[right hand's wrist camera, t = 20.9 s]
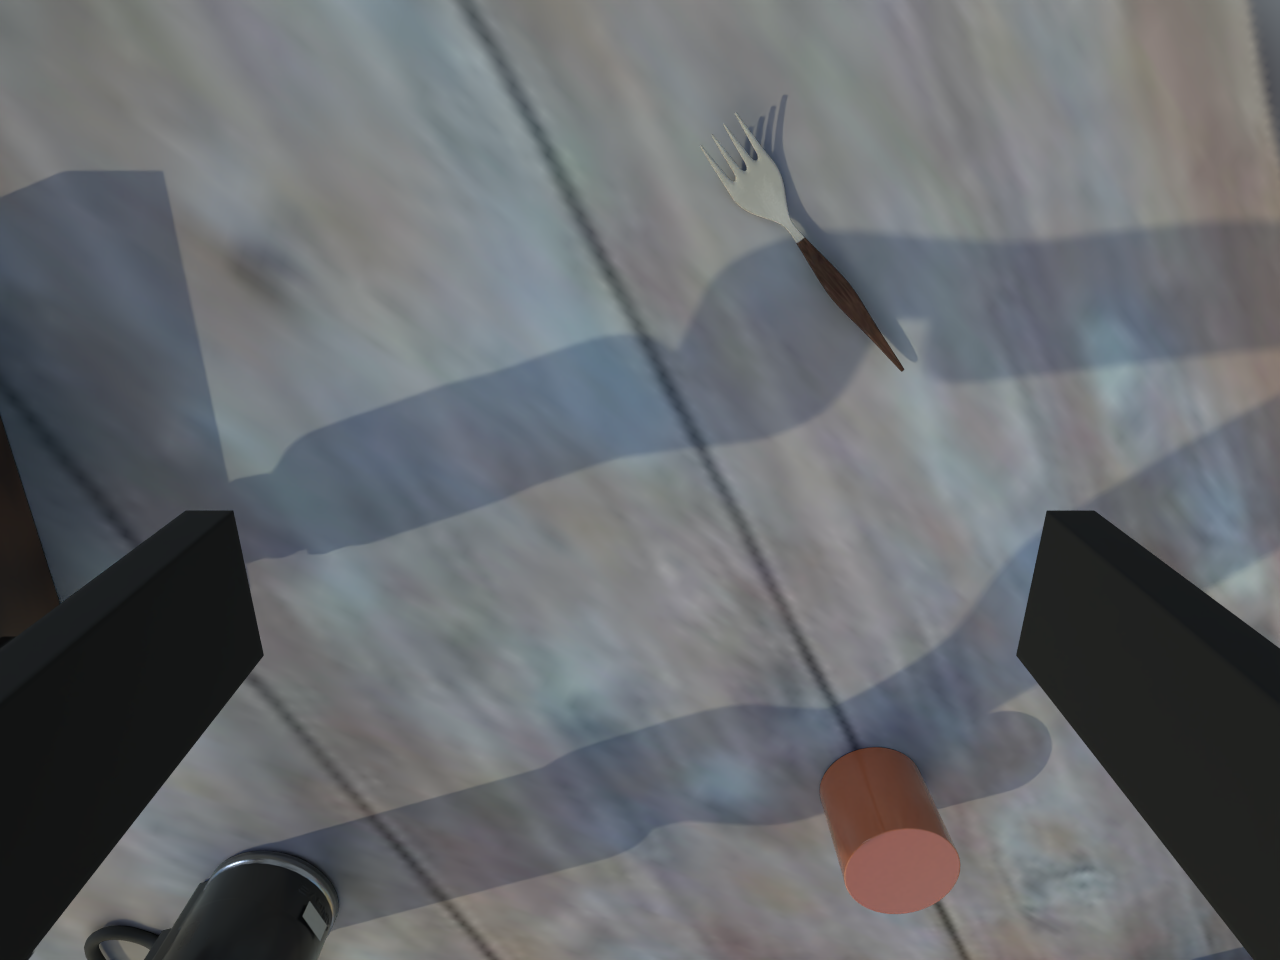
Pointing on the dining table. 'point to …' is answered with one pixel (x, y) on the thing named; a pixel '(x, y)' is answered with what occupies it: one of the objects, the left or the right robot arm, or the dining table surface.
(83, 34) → the dining table surface
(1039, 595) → the right robot arm
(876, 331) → the fork
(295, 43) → the dining table surface
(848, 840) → the orange clay cylinder
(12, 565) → the walnut box
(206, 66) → the dining table surface
